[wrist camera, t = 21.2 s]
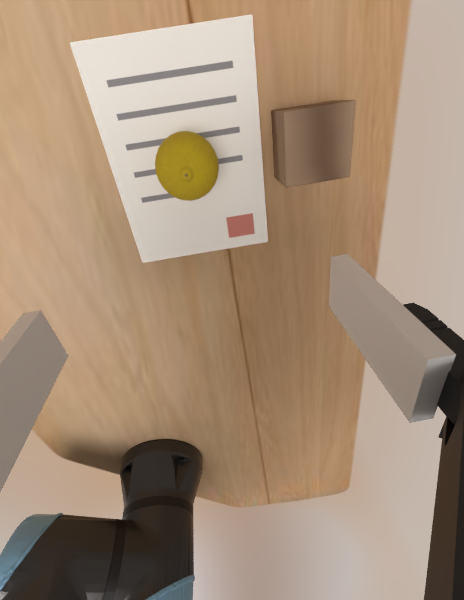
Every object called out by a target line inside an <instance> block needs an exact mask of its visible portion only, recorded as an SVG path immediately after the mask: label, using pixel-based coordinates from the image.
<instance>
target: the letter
mask: <svg viewBox="0 0 464 600" xmlns="http://www.w3.org/2000/svg"><path fill="white" fill-rule="evenodd" d="M70 45H71V48H72V51H73V54H74V57H75V60H76V63H77V66H78V69H79V72H80V75H81V78H82V81H83V84H84V88H85V91H86V94H87V97H88V100H89V103H90V106H91V109H92V112H93V115H94V118H95V121H96V124H97V127H98V130H99V133H100V136H101V139H102V142H103V145H104V148H105V151H106V154H107V157H108V160H109V163H110V166H111V169H112V172H113V175H114V178H115V181H116V184H117V187H118V190H119V193H120V196H121V199H122V202H123V205H124V208H125V211H126V214H127V217H128V220H129V223H130V226H131V230H132V233H133V236H134V239H135V242H136V245H137V248H138V251H139V254H140V257H141V260H142V263H145V262H151V261H157V260H163V259H169V258H175V257H181V256H187V255H193V254H199V253H205V252H211V251H216V250H222V249H228V248H234V247H240V246H246V245H252V244H258V243H264V242H268V234H267V219H266V205H265V191H264V176H263V162H262V147H261V133H260V119H259V104H258V90H257V76H256V61H255V47H254V32H253V18H252V15H245V16H239V17H232V18H226V19H219V20H213V21H206V22H200V23H193V24H187V25H180V26H174V27H167V28H161V29H154V30H148V31H141V32H135V33H128V34H122V35H115V36H109V37H102V38H96V39H89V40H83V41H76V42H70ZM181 131H189V132H194V133H197V134H199V135H201V136H203V137H204V138H205V139H206V140H207V141H208V142H209V143H210V144H211V146H212V147H213V149H214V150H215V153H216V155H217V158H218V165H219V171H218V177H217V180H216V183H215V185H214V186H213V188H212V189H211V191H210V192H208V193H207V194H206V195H205V196H203V197H201V198H200V199H196V200H192V201H187V200H181V199H178V198H175V197H174V196H172V195H170V194H169V193H168V192H167V191H166V190H165V189H164V188H163V187H162V185H161V184H160V182H159V180H158V177H157V174H156V169H155V159H156V154H157V151H158V148H159V146H160V145H161V144H162V142H163V141H164V140H165V139H166V138H167V137H169V136H170V135H172V134H174V133H177V132H181Z"/></svg>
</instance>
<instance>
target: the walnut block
mask: <svg viewBox="0 0 464 600" xmlns="http://www.w3.org/2000/svg"><path fill="white" fill-rule="evenodd" d="M355 105H356V100H344V101H328V102H322V103H316V104H310V105H303V106H297V107H291V108H285V109H278V110H272V111H271V115H272V135H273V155H274V175H275V178H277V179H278V180H279V181H280V182H281V183H282V184H283V185H284V186H285V187H292V186H298V185H304V184H310V183H316V182H322V181H328V180H334V179H340V178H347V177H350V167H351V155H352V143H353V130H354V118H355Z"/></svg>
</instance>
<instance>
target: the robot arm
mask: <svg viewBox="0 0 464 600" xmlns="http://www.w3.org/2000/svg"><path fill="white" fill-rule="evenodd" d="M329 308H330V309H331V310H332V312H333V313H334V315H335V316H336V318H337V319H338V320H339V322H340V323H341V325H342V326H343V328H344V329H345V330H346V332H347V333H348V335H349V336H350V338H351V339H352V341H353V342H354V343H355V345H356V346H357V348H358V349H359V351H360V352H361V353H362V355H363V356H364V358H365V359H366V361H367V362H368V364H369V365H370V366H371V368H372V369H373V371H374V372H375V373H376V375H377V376H378V378H379V379H380V381H381V382H382V384H383V385H384V386H385V388H386V389H387V391H388V392H389V394H390V395H391V397H392V398H393V399H394V401H395V402H396V404H397V405H398V407H399V408H400V409H401V411H402V412H403V414H404V415H405V417H406V418H407V419H408V421H409V422H410V423H411V422H416V421H421V420H426V419H431V418H434V415H435V412H436V409H437V406H439V407H440V409H441V410H442V411H443V412H444V414H445V415H446V416H447V417H446V419H445V422H444V425H443V427H442V429H441V432H440V434H439V438H442V447H441V455H440V464H439V473H438V482H437V490H436V499H435V508H434V516H433V517H434V518H433V525H432V535H431V543H430V552H429V560H428V570H427V578H426V587H425V596H424V600H464V340H463V339H462V338H461V337H459V336H458V335H457V334H456V333H455V332H453V331H452V330H451V329H450V328H447V326H446V325H445V324H444V323H443V322H442V321H441V320H440V321H439V320H438V318H437V317H436V316H435V315H433V314H432V313H431V312H430V311H429V310H428V309H425V308H423V307H421V306H419V305H417V304H415V303H409V304H404V305H402V304H401V303H400V302H399V301H398V300H397V299H396V298H395V297H394V296H392V295H391V294H390V293H389V292H388V291H387V290H386V289H385V288H384V287H383V286H382V285H381V284H380V283H378V282H377V281H376V280H375V279H374V278H373V277H372V276H371V275H370V274H369V273H368V272H367V271H366V270H364V269H363V268H362V267H361V266H360V265H359V264H358V263H357V262H356V261H355V260H354V259H353V258H351V257H350V256H349V255H348V254H343V255H338V256H332V257H331V265H330V292H329ZM67 357H68V354H67V353H66V351H65V349H64V348H63V346H62V344H61V343H60V341H59V339H58V338H57V336H56V334H55V333H54V331H53V329H52V328H51V326H50V325H49V323H48V321H47V320H46V318H45V316H44V315H43V313H42V311H41V310H39V311H34V312H29V313H24V314H23V315H22V316H21V317H20V318H19V320H18V321H17V322H16V323H15V325H14V326H13V327H12V328H11V329H10V331H9V332H8V333H7V334H6V336H5V337H4V338H3V339H2V340H1V342H0V492H1V490H2V488H3V486H4V484H5V482H6V479H7V478H8V476H9V474H10V471H11V469H12V467H13V466H14V464H15V461H16V459H17V457H18V455H19V453H20V451H21V449H22V447H23V445H24V443H25V441H26V439H27V437H28V435H29V433H30V431H31V429H32V427H33V425H34V423H35V421H36V419H37V417H38V415H39V413H40V411H41V409H42V407H43V405H44V403H45V401H46V399H47V397H48V395H49V393H50V391H51V389H52V387H53V385H54V383H55V381H56V379H57V377H58V375H59V373H60V371H61V369H62V367H63V365H64V363H65V361H66V359H67ZM201 475H202V456H201V454H200V453H199V451H198V450H197V449H196V448H194V447H193V446H191V445H189V444H186V443H183V442H180V441H174V440H156V441H150V442H146V443H143V444H140V445H138V446H136V447H134V448H132V449H131V450H129V451H128V452H127V453H126V455H125V456H124V458H123V461H122V466H121V471H120V477H121V485H122V492H123V500H124V512H123V519H122V520H119V519H106V518H95V517H84V516H73V515H63V514H62V513H59V514H56V515H47V514H44V515H43V514H36V515H32V516H30V517H28V518H26V519H25V520H24V521H23V522H22V523H21V524H20V525H19V526H18V527H17V529H16V530H15V532H14V533H13V534H12V536H11V538H10V539H9V541H8V542H7V544H6V546H5V548H4V549H3V551H2V553H1V555H0V600H193V599H192V598H193V581H194V579H195V577H194V567H193V566H194V562H193V503H194V499H195V496H196V492H197V489H198V485H199V482H200V478H201Z"/></svg>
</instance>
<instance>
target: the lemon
mask: <svg viewBox="0 0 464 600" xmlns="http://www.w3.org/2000/svg"><path fill="white" fill-rule="evenodd" d="M155 169H156V174H157V177H158V180H159V182H160V184H161V185H162V187H163V188H164V189H165V190H166V191H167V192H168V193H169V194H170V195H172V196H174V197H175V198H178V199H181V200H187V201H192V200H196V199H200V198H201V197H203V196H205V195H206V194H207V193H208V192H210V191H211V189H212V188H213V186H214V185H215V183H216V180H217V177H218V171H219V165H218V158H217V155H216V153H215V150H214V149H213V147H212V146H211V144H210V143H209V142H208V141H207V140H206V139H205V138H204V137H203V136H201V135H199V134H197V133H194V132H189V131H181V132H177V133H174V134H172V135H170V136H169V137H167V138H166V139H165V140H164V141H163V142H162V144H161V145H160V146H159V148H158V151H157V154H156V159H155Z"/></svg>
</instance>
